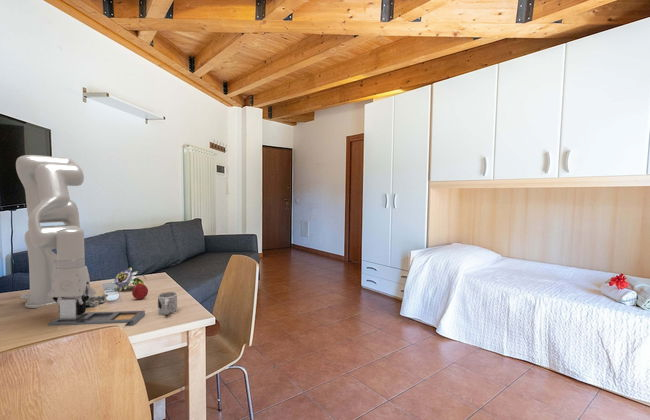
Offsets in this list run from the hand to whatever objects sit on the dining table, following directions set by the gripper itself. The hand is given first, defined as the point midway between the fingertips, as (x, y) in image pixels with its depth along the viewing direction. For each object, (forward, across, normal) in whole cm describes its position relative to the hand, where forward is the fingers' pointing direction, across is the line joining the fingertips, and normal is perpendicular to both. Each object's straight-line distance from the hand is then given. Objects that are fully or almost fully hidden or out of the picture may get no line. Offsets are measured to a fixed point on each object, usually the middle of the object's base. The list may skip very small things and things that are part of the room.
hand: (72, 313), depth 110 cm
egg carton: (+4, -3, +17) cm, 17 cm away
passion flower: (+4, +2, +38) cm, 38 cm away
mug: (+3, +30, +6) cm, 30 cm away
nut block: (+2, 0, 0) cm, 2 cm away
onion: (+3, +14, +21) cm, 25 cm away
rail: (+3, +9, 0) cm, 9 cm away
